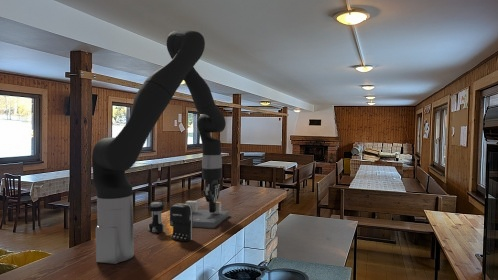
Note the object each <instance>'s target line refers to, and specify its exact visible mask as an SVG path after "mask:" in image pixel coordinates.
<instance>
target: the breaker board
mask: <svg viewBox="0 0 498 280" xmlns="http://www.w3.org/2000/svg"><path fill="white" fill-rule="evenodd" d="M198 203H199V202H198V200H186V201H185V204H188V205H190V206H191V207H192V214H193V224H192V228H208V229H215V228H216V227H217V226H219V225H220V224H221V223H222V222H223V221H224V220H226V219H227V218H228V217H229V216H230V211H229V210H221V213H220V214H214V213H210V212H209V209H198V208H199V207H198ZM169 226H173V222H172V221H170V220H169Z"/></svg>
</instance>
